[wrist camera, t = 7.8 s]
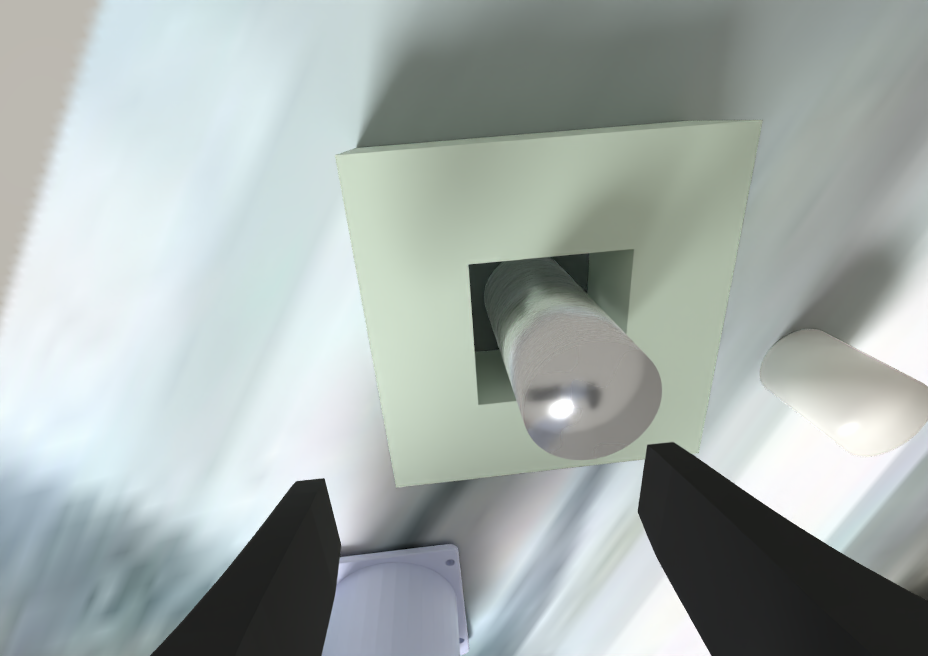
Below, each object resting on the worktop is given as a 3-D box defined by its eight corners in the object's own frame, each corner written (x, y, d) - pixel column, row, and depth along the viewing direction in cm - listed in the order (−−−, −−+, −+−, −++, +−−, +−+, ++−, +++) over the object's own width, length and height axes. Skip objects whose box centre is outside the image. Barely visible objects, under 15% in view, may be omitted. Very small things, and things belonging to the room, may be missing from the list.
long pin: (572, 324, 19) (662, 444, 12) (491, 341, 19) (532, 472, 12) (564, 244, 18) (662, 327, 10) (476, 263, 18) (513, 358, 11)
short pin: (823, 390, 22) (913, 451, 18) (752, 398, 22) (828, 461, 18) (843, 324, 20) (948, 374, 16) (768, 333, 20) (854, 385, 16)
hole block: (651, 396, 21) (698, 452, 18) (401, 424, 21) (396, 487, 17) (686, 120, 16) (762, 119, 13) (355, 147, 16) (335, 155, 12)
